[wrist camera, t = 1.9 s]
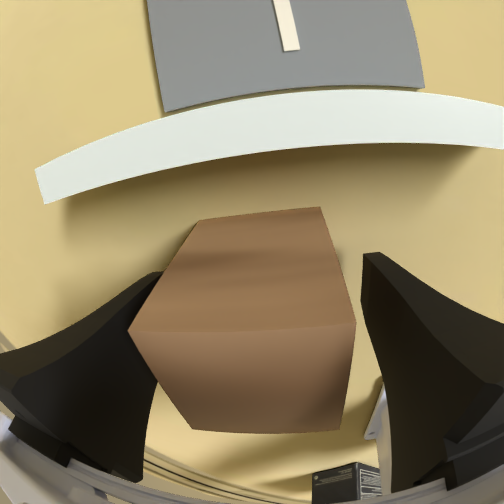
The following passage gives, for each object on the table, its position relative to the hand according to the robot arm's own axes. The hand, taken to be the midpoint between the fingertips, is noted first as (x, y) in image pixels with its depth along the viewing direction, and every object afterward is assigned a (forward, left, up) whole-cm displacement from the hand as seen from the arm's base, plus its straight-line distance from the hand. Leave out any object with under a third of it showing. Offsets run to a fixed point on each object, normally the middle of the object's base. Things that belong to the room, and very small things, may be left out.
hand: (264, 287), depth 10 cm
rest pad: (+11, -2, -1) cm, 11 cm away
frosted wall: (+6, -2, -1) cm, 6 cm away
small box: (-32, -7, -2) cm, 33 cm away
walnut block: (0, 0, -2) cm, 2 cm away
